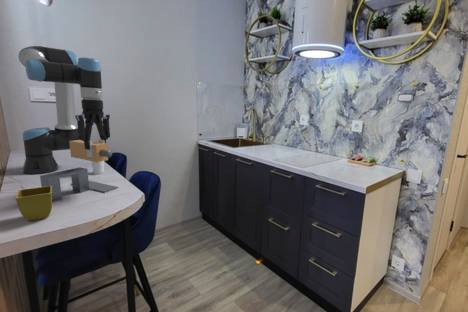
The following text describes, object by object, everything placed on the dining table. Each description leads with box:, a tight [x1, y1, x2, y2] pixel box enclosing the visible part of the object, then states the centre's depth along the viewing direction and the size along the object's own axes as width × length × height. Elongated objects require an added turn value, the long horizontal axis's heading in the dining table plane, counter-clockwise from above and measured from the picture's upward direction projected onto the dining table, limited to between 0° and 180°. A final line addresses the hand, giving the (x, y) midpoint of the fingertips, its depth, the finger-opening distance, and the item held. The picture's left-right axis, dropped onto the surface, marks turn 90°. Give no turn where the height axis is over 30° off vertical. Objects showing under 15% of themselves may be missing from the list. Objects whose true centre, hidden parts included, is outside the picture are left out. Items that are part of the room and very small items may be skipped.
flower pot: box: [15, 186, 53, 222], centre depth 79 cm, size 9×9×9 cm
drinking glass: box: [90, 161, 105, 175], centre depth 131 cm, size 7×7×15 cm
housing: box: [39, 166, 90, 203], centre depth 99 cm, size 5×16×10 cm, turn 156°
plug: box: [69, 140, 113, 162], centre depth 103 cm, size 21×5×7 cm, turn 65°
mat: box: [70, 179, 119, 194], centre depth 111 cm, size 22×7×1 cm, turn 66°
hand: (96, 155), depth 102 cm, fingers closed on plug, 5 cm apart
